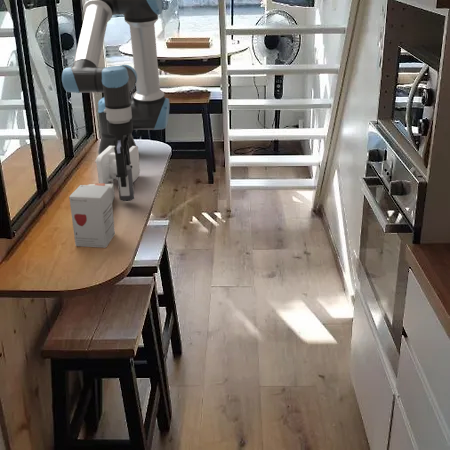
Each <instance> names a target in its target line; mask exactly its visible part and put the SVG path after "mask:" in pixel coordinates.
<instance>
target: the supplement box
mask: <svg viewBox="0 0 450 450" xmlns="http://www.w3.org/2000/svg"><path fill="white" fill-rule="evenodd" d="M68 198H69V204H70V205H69V206H70V212H71V219H72V230H73V235H74V245H75V247H84V248H85V247H89V248H105V249H106V248H107V247H108V245H109V244H110V243H111V241H112V240H113V238H114V236H115V235H116V229H115V221H114V220H115V219H114V210H113V202H112V197H111V186H98V185H89V184H80V185H79V186H78V187H77V188H76V189H75V190H74V191H73V192H72V193H70V195H69V197H68Z"/></svg>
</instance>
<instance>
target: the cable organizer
mask: <svg viewBox="0 0 450 450" xmlns="http://www.w3.org/2000/svg"><path fill="white" fill-rule="evenodd" d="M114 147H115V146H109V147H107V148H106V149H105V150H104V151H103V152H102V153H101V154H100V155H99V154H98V155H97V156H96V159H95V164H96V168H97V169H96V170H97V179H98V183H105V184H114V180H118V178H117V177H116V175H117V166H116V157H115V151H114ZM129 152H130V162H131V164H130V166H132V178H133V183H135V182H136V181H137V179H138V177H139V176H140V173H141V169H140V168H141V166H140V155H139V154H140V153H139V147H138V146H137V145H136V146H132V147H131V148H130V149H129Z"/></svg>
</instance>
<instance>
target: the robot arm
mask: <svg viewBox="0 0 450 450" xmlns="http://www.w3.org/2000/svg"><path fill="white" fill-rule="evenodd" d="M162 3H163V2H162V0H84V4H83V9H82V11H83V12H82V13H83V14H84V17H83V22H82V25H81V26H82V27H81V30H80V34H79V38H78V43H77V46H76V47H77V48H76V52H75V55H74V59H73V65H72V67H71V66H69V67H65V68H64V69H63V70H62V73H61V82H62V87H63V88H64V90H65V91H66V92H67V93H73V94H74V93H76V94H80V93H81V94H83V93H85V94H86V93H90V94H92V93H102V94H103V97H102V98H100V99H99V100H98V102H97V107H98V108H97V109H98V110H97V113H98V119H99V120H98V121H99V126H100V127H99V128H100V142H99V146H98V151H97V153H98V155H100V154H101V153H102V152H103V151H104V150H105V149H106V148H107V147H109V146H115V147H114V151H115V157H116V166H117V175H116V177H119V183H120V193H121V196H130V192H129V181H128V175H127V166H126V165H129V166H130V164H131V162H130V152H129V149H130V148H131V147H132V146H137V144H136V142H135V140H134V137H133V135H132V134H133V132H134V130H140V131H141V130H144V131H146V130H147V131H151V130H152V131H156V130H164V129H166V127H167V125H168V122H169V118H170V117H169V116H170V104H171V103H170V98H167V97H165V92H164V91H162V90H161V88H160V87H161V86H160V76H159V64H158V52H157V51H158V50H157V43H156V30H155V29H156V28H155V23H156V22H157V21H158V20H159V15H161V14H162V12H163V5H162ZM114 15H123V17H124V19H123V20H124V22H125V23H127V24H128V25H129V31H130V40H131V41H130V42H131V50H132V62H133V67H132V66H131V65H129V64H122V65H112V66H111V65H110V66H107V67H101V66H100V67H99V63H100V59H101V54H102V50H103V45H104V40H105V35H106V32H107V27H108V22H110V21H111V19H113V18H112V17H113V16H114ZM135 87H136V88H135ZM133 89H136V91H135V92H134V93H133V95H132V97H133V98H131V94H130V92H131V91H132V90H133ZM130 167H131V168H132V166H130Z"/></svg>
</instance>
